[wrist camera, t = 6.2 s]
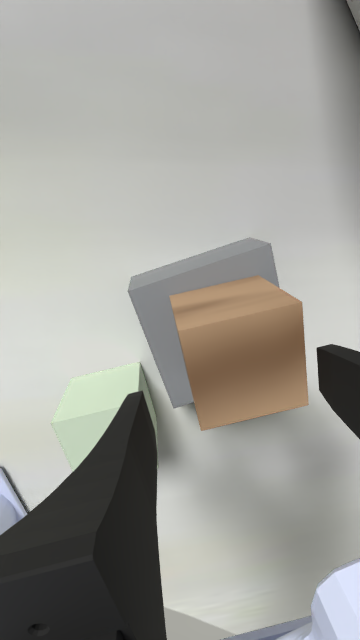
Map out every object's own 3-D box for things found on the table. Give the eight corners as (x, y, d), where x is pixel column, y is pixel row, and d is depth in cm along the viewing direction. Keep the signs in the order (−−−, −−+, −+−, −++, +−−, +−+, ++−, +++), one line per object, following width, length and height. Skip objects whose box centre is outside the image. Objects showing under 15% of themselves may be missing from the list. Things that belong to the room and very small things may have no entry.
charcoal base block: (271, 342, 23) (295, 368, 19) (169, 375, 23) (173, 408, 19) (247, 237, 20) (270, 243, 16) (131, 275, 20) (127, 291, 16)
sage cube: (156, 416, 24) (158, 468, 19) (93, 432, 24) (79, 487, 19) (139, 361, 22) (137, 402, 17) (71, 377, 22) (50, 423, 17)
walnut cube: (267, 354, 18) (308, 404, 14) (186, 373, 18) (201, 430, 14) (258, 275, 17) (302, 301, 12) (169, 295, 17) (178, 331, 12)
